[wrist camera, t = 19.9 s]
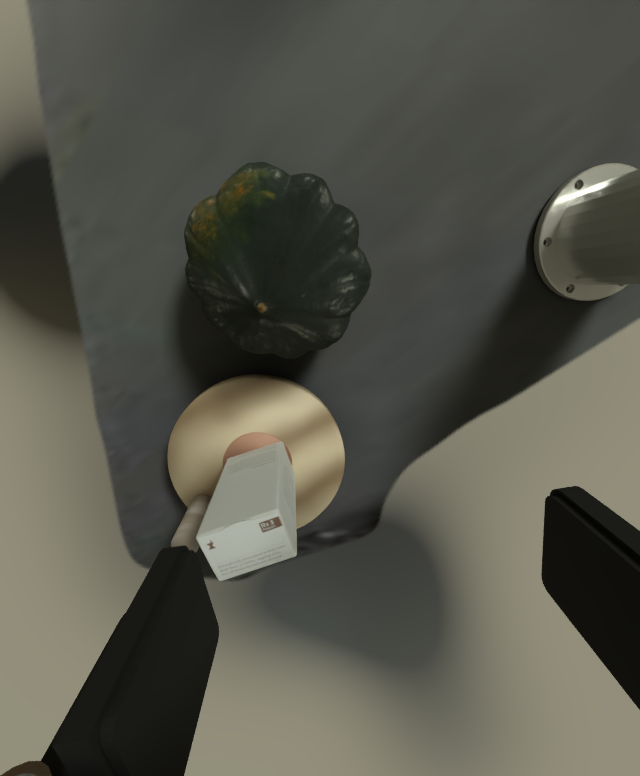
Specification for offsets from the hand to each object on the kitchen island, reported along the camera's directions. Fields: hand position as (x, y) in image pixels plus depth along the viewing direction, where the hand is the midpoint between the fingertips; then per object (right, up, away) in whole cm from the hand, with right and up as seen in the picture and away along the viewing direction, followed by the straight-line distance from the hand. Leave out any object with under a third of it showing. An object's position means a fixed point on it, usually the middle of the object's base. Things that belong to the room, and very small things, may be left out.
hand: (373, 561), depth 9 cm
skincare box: (-7, -3, +26) cm, 27 cm away
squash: (-5, +16, +25) cm, 30 cm away
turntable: (-8, -3, +28) cm, 29 cm away
